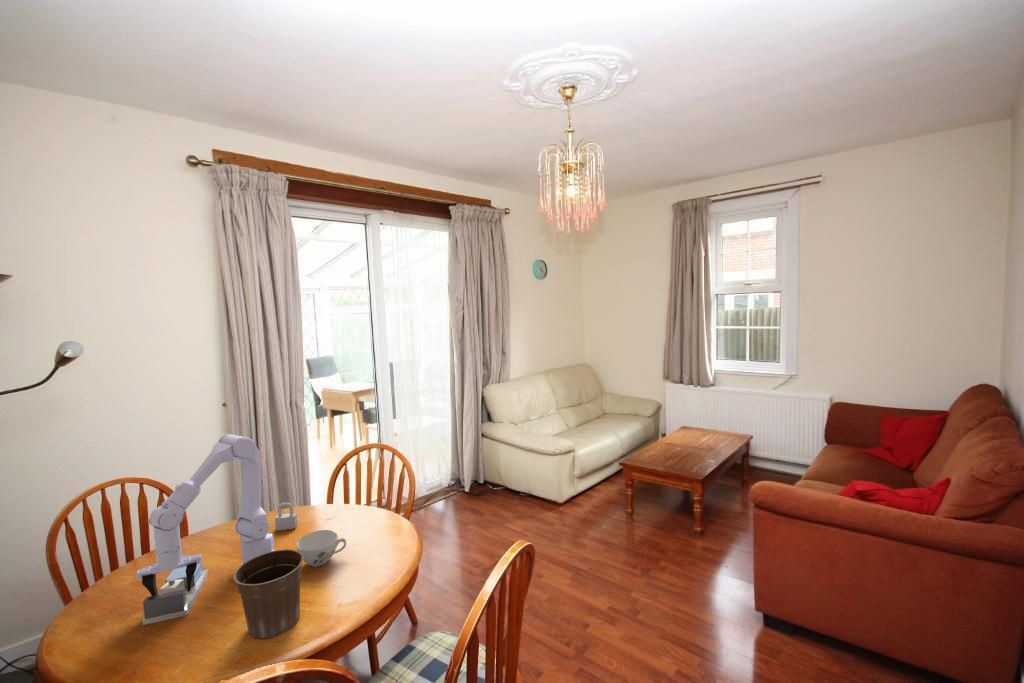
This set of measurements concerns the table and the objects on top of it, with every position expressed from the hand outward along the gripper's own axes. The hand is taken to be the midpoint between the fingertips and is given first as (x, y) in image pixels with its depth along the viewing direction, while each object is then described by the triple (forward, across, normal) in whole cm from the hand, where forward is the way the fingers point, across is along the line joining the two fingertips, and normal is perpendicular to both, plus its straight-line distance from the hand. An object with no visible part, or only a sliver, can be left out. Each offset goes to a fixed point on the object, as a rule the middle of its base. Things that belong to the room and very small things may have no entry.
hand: (172, 594), depth 129 cm
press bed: (+3, -1, -4) cm, 5 cm away
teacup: (+4, -40, 0) cm, 40 cm away
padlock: (+4, -32, -33) cm, 46 cm away
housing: (+2, 0, 0) cm, 2 cm away
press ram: (+2, -2, -10) cm, 11 cm away
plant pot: (+4, -24, +24) cm, 34 cm away
